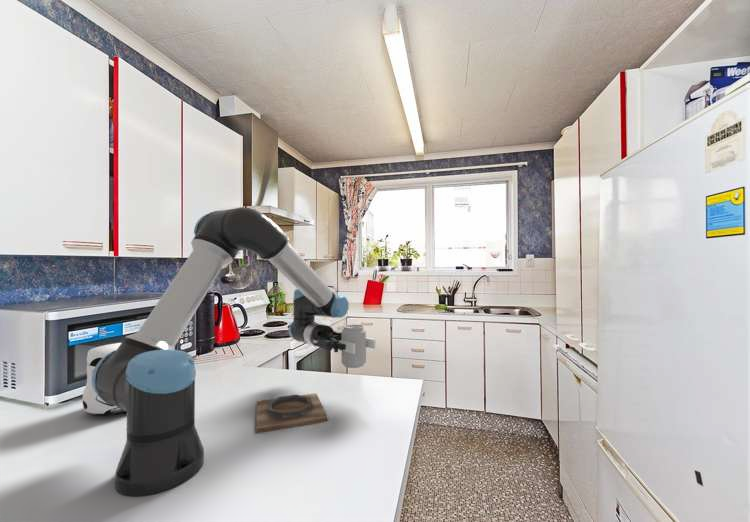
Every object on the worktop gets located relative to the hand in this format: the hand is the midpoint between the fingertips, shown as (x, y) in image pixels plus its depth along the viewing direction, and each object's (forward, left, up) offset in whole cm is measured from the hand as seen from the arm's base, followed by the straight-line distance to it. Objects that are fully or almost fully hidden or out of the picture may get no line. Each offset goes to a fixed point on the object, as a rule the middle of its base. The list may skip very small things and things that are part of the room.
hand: (364, 346), depth 97 cm
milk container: (+25, +68, -18) cm, 75 cm away
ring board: (+4, +21, -18) cm, 28 cm away
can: (+4, +2, -7) cm, 8 cm away
